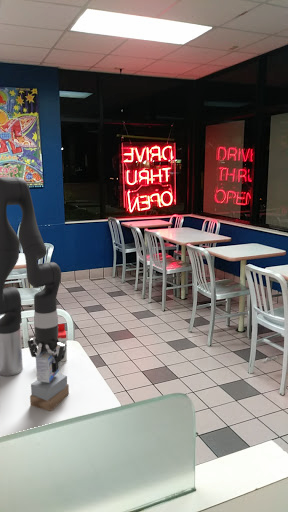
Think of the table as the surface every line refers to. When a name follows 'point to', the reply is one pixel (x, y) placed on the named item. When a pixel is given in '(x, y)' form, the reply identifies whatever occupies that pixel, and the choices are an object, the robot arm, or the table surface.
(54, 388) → the slate top slab
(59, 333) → the ink box
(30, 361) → the table surface
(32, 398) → the walnut base slab
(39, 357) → the medicine box
